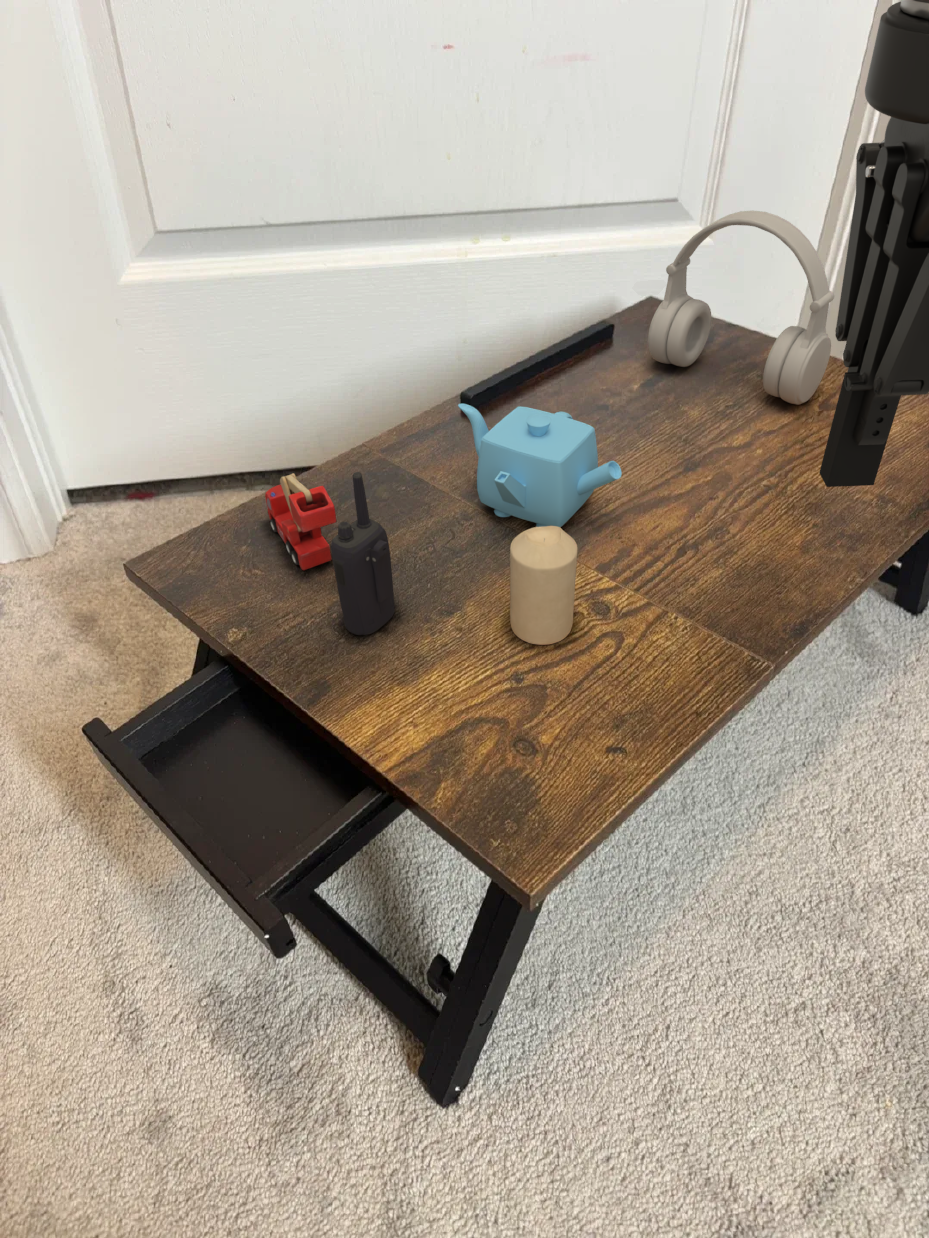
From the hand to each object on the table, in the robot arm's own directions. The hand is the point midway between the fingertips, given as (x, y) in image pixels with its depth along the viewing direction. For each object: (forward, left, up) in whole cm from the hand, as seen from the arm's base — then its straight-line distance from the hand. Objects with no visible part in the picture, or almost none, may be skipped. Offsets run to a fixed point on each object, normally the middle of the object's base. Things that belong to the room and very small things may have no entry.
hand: (846, 478), depth 55 cm
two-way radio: (+32, +14, -25) cm, 43 cm away
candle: (+22, +3, -25) cm, 33 cm away
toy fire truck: (+45, +13, -25) cm, 53 cm away
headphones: (+38, -44, -25) cm, 63 cm away
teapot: (+35, -8, -25) cm, 44 cm away
